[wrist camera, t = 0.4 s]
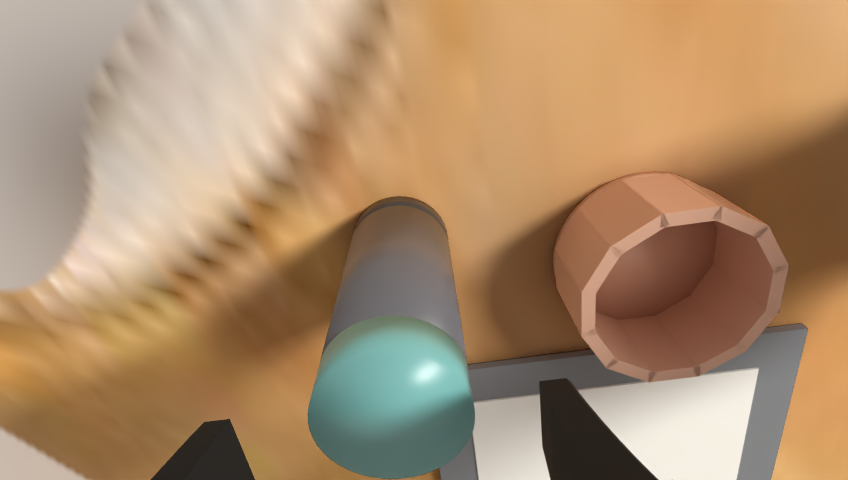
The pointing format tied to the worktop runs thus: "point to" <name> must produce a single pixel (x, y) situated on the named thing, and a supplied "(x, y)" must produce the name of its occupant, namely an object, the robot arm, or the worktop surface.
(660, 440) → the writing mat
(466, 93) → the worktop surface
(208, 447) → the robot arm
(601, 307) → the pen cup
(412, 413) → the marker
